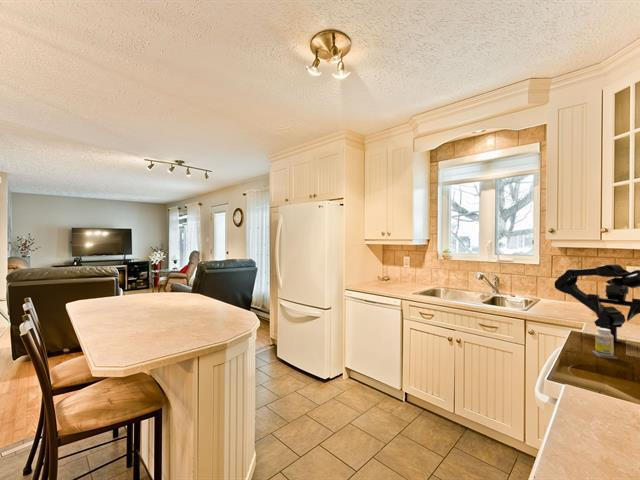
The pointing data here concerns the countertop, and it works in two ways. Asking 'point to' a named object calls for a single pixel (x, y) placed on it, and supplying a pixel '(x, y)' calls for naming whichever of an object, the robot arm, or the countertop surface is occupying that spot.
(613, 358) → the slate coaster
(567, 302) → the countertop surface
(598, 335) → the supplement bottle
